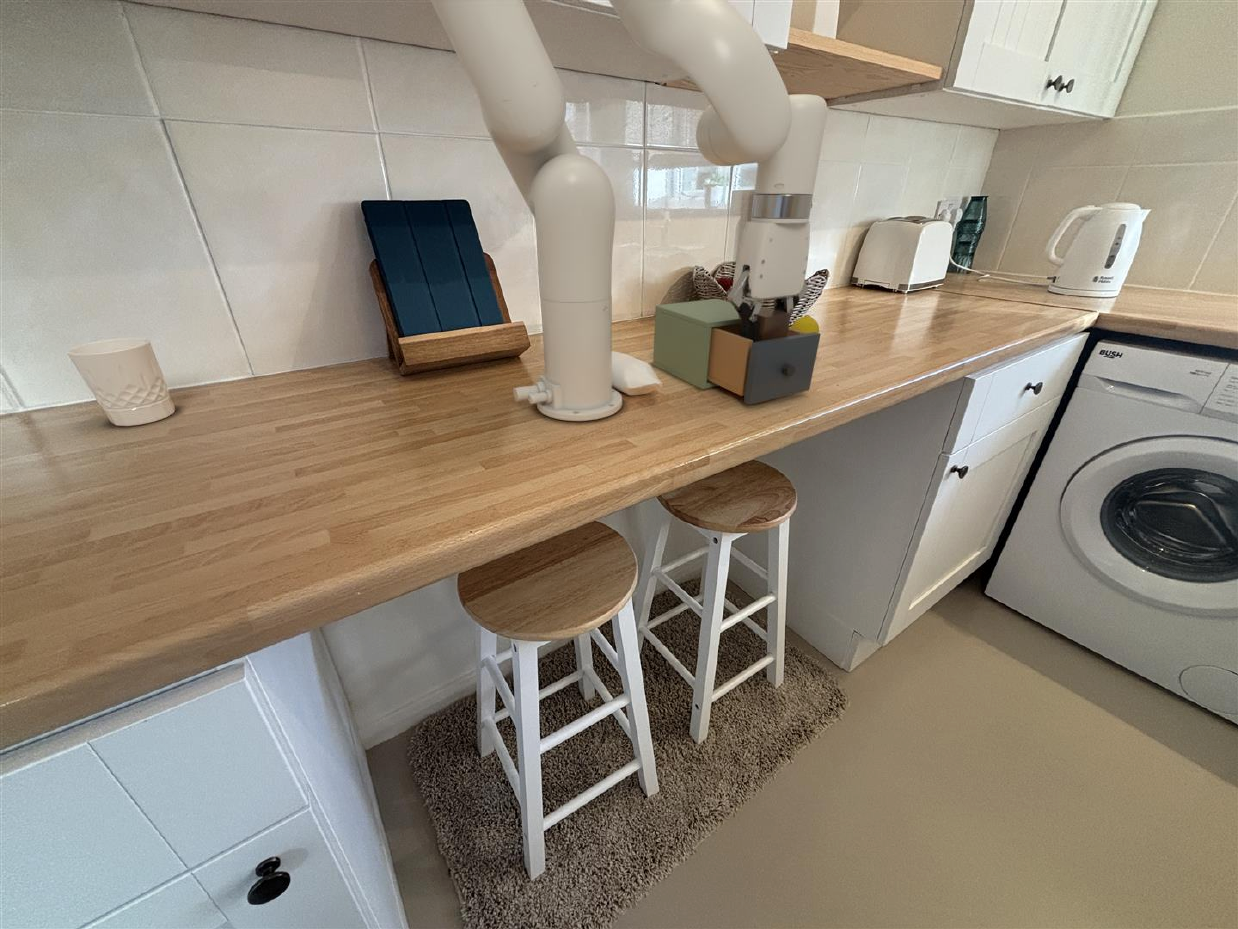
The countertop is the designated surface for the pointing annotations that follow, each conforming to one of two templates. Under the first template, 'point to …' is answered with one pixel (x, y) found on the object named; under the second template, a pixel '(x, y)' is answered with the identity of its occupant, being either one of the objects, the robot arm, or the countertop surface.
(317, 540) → the countertop surface
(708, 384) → the cabinet
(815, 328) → the lemon
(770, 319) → the block
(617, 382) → the white pouch
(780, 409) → the countertop surface
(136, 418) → the white cup
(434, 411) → the countertop surface
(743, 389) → the drawer
